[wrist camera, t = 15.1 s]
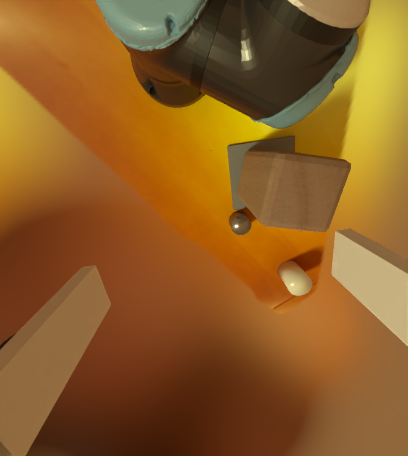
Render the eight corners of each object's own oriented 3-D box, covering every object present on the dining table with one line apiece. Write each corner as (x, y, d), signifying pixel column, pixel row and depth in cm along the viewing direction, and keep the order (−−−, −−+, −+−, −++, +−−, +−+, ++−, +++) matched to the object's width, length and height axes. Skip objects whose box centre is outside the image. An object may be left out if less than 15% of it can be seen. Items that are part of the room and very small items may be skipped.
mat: (227, 146, 43) (227, 146, 43) (293, 135, 43) (294, 135, 42) (233, 209, 48) (233, 210, 48) (292, 200, 48) (293, 201, 47)
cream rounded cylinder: (277, 262, 54) (288, 277, 47) (299, 259, 54) (312, 274, 47) (278, 279, 56) (288, 296, 49) (298, 276, 56) (311, 293, 49)
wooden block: (289, 156, 44) (357, 160, 25) (278, 201, 47) (329, 235, 28) (244, 149, 43) (278, 150, 24) (235, 196, 46) (260, 227, 28)
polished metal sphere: (228, 212, 49) (230, 218, 45) (246, 209, 48) (250, 215, 45) (230, 229, 50) (232, 236, 46) (247, 227, 50) (251, 233, 46)
